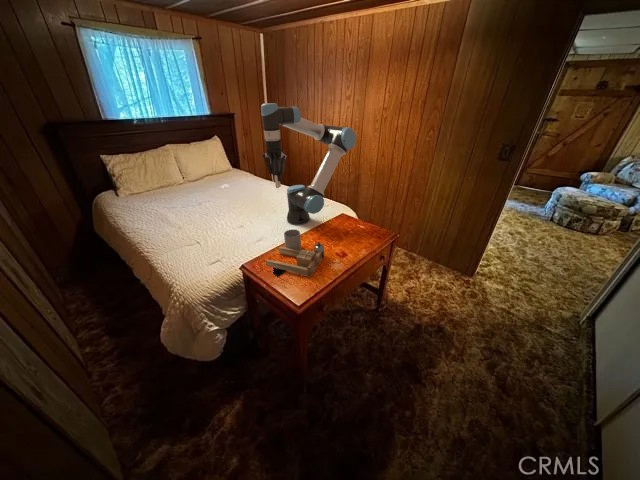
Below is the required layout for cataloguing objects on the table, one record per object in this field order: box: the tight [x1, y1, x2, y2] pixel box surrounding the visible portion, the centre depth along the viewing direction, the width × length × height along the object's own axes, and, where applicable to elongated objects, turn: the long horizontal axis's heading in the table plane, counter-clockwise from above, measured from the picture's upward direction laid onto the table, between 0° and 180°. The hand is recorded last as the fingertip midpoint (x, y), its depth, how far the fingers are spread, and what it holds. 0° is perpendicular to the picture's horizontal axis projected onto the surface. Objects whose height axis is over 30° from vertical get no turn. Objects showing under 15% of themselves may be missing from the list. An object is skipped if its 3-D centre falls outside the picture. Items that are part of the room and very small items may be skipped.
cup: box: [283, 229, 302, 251], centre depth 135 cm, size 8×8×10 cm
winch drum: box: [313, 241, 325, 259], centre depth 128 cm, size 5×5×8 cm
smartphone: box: [273, 268, 288, 278], centre depth 123 cm, size 7×1×15 cm
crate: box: [295, 249, 316, 268], centre depth 121 cm, size 7×7×7 cm
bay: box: [265, 246, 323, 278], centre depth 124 cm, size 14×24×5 cm, turn 69°
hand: (278, 187), depth 134 cm, fingers closed
